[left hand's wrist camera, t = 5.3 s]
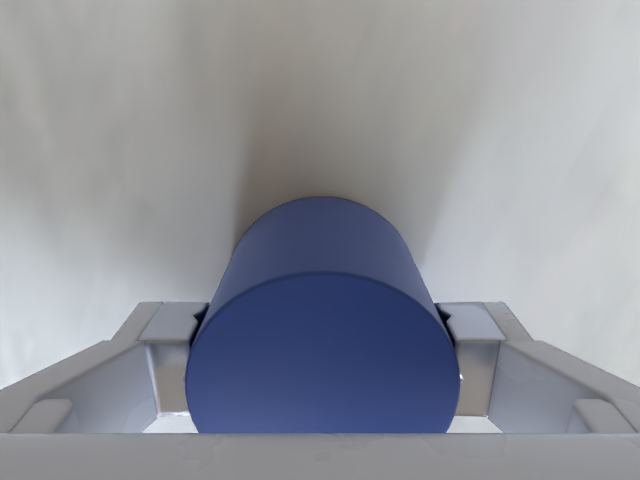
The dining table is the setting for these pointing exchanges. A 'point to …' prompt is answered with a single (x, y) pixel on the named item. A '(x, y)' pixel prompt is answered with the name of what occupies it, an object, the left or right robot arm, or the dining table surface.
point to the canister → (322, 331)
